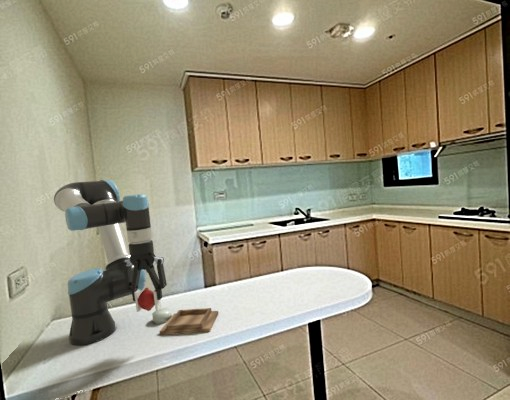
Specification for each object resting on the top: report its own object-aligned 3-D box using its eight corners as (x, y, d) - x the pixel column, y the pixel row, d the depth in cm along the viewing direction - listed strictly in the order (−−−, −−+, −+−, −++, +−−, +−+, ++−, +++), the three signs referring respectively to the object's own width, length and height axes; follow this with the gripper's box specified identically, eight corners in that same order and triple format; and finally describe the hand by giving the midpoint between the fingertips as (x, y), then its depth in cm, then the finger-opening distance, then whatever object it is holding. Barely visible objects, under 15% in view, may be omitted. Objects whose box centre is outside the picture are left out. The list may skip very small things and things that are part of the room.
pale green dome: (150, 324, 116) (149, 316, 116) (157, 316, 123) (156, 308, 123) (167, 323, 115) (166, 315, 115) (174, 314, 122) (173, 307, 122)
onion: (139, 316, 98) (136, 292, 97) (139, 309, 103) (136, 286, 102) (158, 311, 100) (155, 287, 99) (156, 305, 105) (154, 283, 105)
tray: (159, 334, 107) (159, 327, 107) (174, 316, 121) (173, 309, 121) (209, 331, 105) (208, 324, 105) (218, 313, 119) (217, 307, 119)
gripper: (106, 246, 97) (116, 315, 99) (163, 241, 95) (172, 313, 97) (119, 240, 104) (128, 305, 106) (172, 236, 103) (180, 303, 104)
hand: (149, 309), depth 102 cm, fingers closed on onion, 6 cm apart
